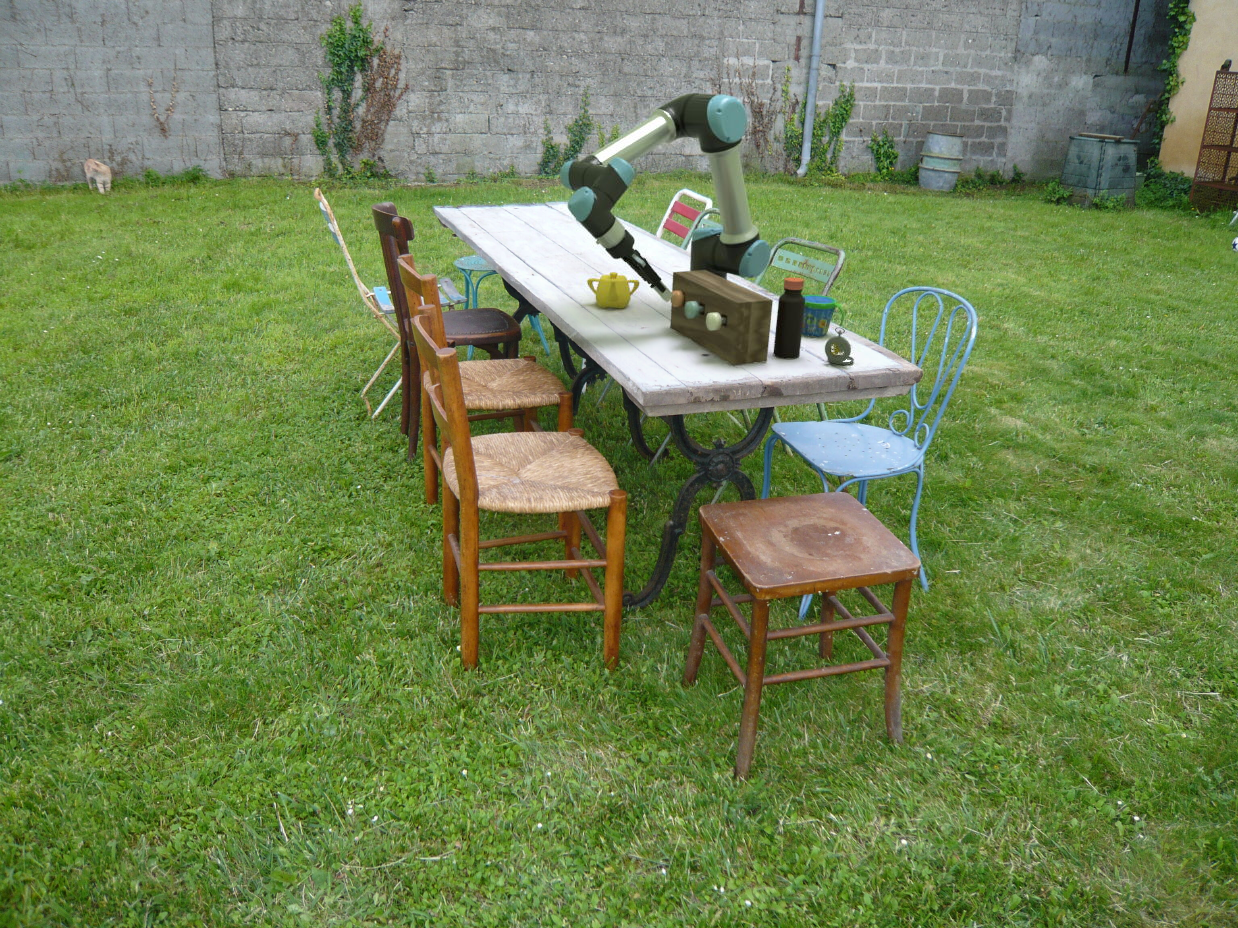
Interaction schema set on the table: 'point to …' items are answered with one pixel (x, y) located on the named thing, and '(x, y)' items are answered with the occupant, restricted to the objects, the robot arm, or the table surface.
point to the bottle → (790, 319)
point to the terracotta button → (677, 299)
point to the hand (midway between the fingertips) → (669, 298)
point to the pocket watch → (838, 349)
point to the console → (740, 305)
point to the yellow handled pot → (613, 290)
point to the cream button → (715, 321)
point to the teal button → (693, 309)
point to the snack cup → (819, 314)
